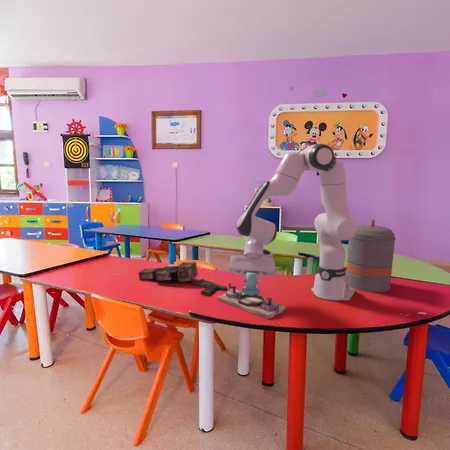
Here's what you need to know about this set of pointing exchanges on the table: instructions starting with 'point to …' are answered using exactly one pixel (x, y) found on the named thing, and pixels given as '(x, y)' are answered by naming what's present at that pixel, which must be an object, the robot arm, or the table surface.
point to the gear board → (252, 303)
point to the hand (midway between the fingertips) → (251, 282)
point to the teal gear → (250, 285)
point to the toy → (171, 272)
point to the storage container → (371, 258)
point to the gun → (208, 286)
